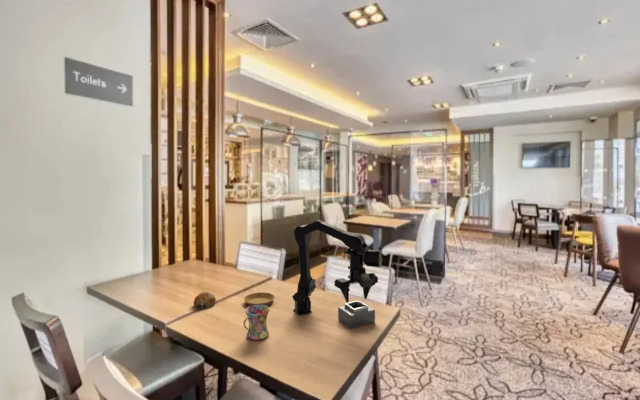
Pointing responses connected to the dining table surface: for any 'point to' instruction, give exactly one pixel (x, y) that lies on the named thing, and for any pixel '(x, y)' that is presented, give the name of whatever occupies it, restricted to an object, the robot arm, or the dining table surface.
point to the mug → (257, 321)
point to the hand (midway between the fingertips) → (356, 300)
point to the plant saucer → (259, 299)
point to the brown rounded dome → (204, 300)
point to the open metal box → (356, 314)
